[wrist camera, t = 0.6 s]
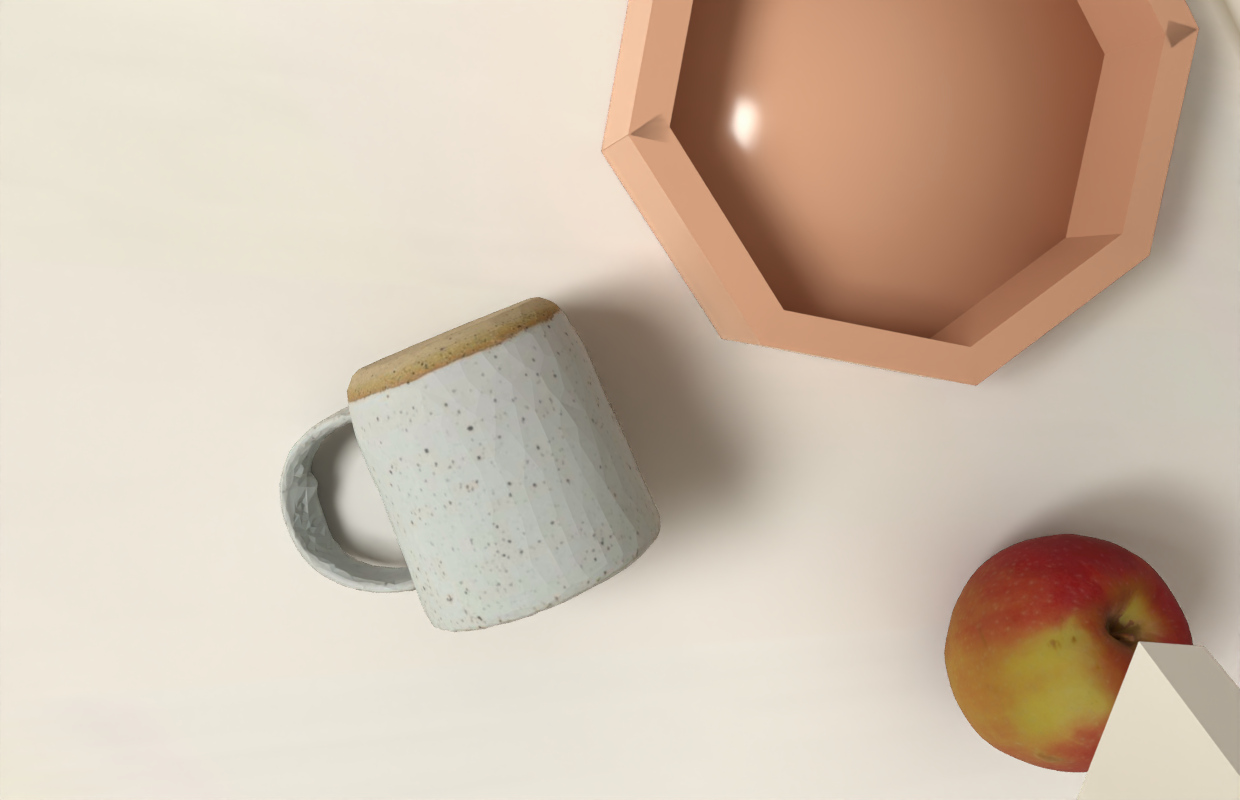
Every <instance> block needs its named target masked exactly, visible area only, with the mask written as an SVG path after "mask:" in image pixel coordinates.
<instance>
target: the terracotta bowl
mask: <svg viewBox="0 0 1240 800" xmlns="http://www.w3.org/2000/svg"><path fill="white" fill-rule="evenodd" d="M1198 31H1199V28H1198V26H1197V24H1196V22H1195V20H1194V18H1193V16H1192V13H1191V11H1190V9H1189V7H1188V5H1187V3H1186V1H1185V0H629V1H628V7H627V12H626V18H625V23H624V29H623V34H622V40H621V46H620V51H619V57H618V62H617V68H616V73H615V79H614V84H613V90H612V95H611V101H610V106H609V112H608V117H607V123H606V128H605V134H604V139H603V145H602V150H601V151H602V153H603V155H604V157H605V158H606V160H607V161H608V163H609V164H610V166H611V167H612V169H613V171H614V172H615V174H616V175H617V177H618V178H619V180H620V181H621V183H622V185H623V186H624V188H625V189H626V191H627V192H628V194H629V195H630V197H631V199H632V200H633V202H634V203H635V205H636V206H637V208H638V209H639V211H640V213H641V214H642V216H643V217H644V219H645V220H646V222H647V223H648V225H649V227H650V228H651V230H652V231H653V233H654V234H655V236H656V237H657V239H658V240H659V242H660V244H661V245H662V247H663V248H664V250H665V251H666V253H667V254H668V256H669V258H670V259H671V261H672V262H673V264H674V265H675V267H676V268H677V270H678V272H679V273H680V275H681V276H682V278H683V279H684V281H685V282H686V284H687V286H688V287H689V289H690V290H691V292H692V293H693V295H694V296H695V298H696V300H697V301H698V303H699V304H700V306H701V307H702V309H703V310H704V312H705V314H706V315H707V317H708V318H709V320H710V321H711V323H712V324H713V326H714V327H715V329H716V331H717V332H718V334H719V335H720V337H721V338H722V339H726V340H731V341H736V342H742V343H747V344H752V345H757V346H763V347H768V348H773V349H779V350H784V351H789V352H795V353H800V354H805V355H811V356H816V357H821V358H827V359H832V360H837V361H843V362H848V363H853V364H858V365H864V366H869V367H874V368H880V369H885V370H890V371H896V372H901V373H906V374H912V375H917V376H923V377H929V378H935V379H941V380H947V381H952V382H958V383H964V384H970V385H978V384H979V383H980V382H982V381H983V380H984V379H986V378H987V377H988V376H990V375H991V374H992V373H994V372H995V371H996V370H998V369H999V368H1000V367H1002V366H1003V365H1004V364H1006V363H1007V362H1008V361H1010V360H1011V359H1012V358H1014V357H1015V356H1016V355H1018V354H1019V353H1020V352H1022V351H1023V350H1024V349H1026V348H1027V347H1028V346H1030V345H1031V344H1032V343H1034V342H1035V341H1036V340H1038V339H1039V338H1040V337H1042V336H1043V335H1044V334H1046V333H1047V332H1048V331H1050V330H1051V329H1052V328H1053V327H1055V326H1056V325H1057V324H1059V323H1060V322H1061V321H1063V320H1064V319H1065V318H1067V317H1068V316H1069V315H1071V314H1072V313H1073V312H1075V311H1076V310H1077V309H1079V308H1080V307H1081V306H1083V305H1084V304H1085V303H1087V302H1088V301H1089V300H1091V299H1092V298H1093V297H1095V296H1096V295H1097V294H1099V293H1100V292H1101V291H1103V290H1104V289H1105V288H1107V287H1108V286H1109V285H1111V284H1112V283H1113V282H1115V281H1116V280H1117V279H1119V278H1120V277H1121V276H1123V275H1124V274H1125V273H1127V272H1128V271H1129V270H1131V269H1132V268H1133V267H1135V266H1136V265H1137V264H1139V263H1140V262H1141V261H1143V260H1144V259H1145V258H1147V257H1148V256H1149V255H1150V250H1151V245H1152V241H1153V236H1154V232H1155V227H1156V223H1157V218H1158V213H1159V209H1160V204H1161V200H1162V195H1163V191H1164V186H1165V181H1166V177H1167V172H1168V168H1169V163H1170V159H1171V154H1172V149H1173V145H1174V140H1175V136H1176V131H1177V127H1178V122H1179V117H1180V113H1181V108H1182V104H1183V99H1184V95H1185V90H1186V85H1187V81H1188V76H1189V72H1190V67H1191V63H1192V58H1193V53H1194V49H1195V44H1196V40H1197V35H1198Z"/></svg>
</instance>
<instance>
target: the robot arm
mask: <svg viewBox="0 0 1240 800" xmlns="http://www.w3.org/2000/svg"><path fill="white" fill-rule="evenodd" d="M1077 800H1240V689H1239V687H1238V686H1237V685H1236V684H1235V683H1234V681H1233V680H1232V679H1231V678H1230V677H1229V675H1228V674H1227V673H1226V672H1225V671H1224V669H1223V668H1222V667H1221V666H1220V665H1219V663H1218V662H1217V661H1216V660H1215V659H1214V657H1213V656H1212V655H1211V654H1210V653H1209V651H1208V650H1207V649H1206V648H1205V647H1204V646H1194V645H1181V644H1167V643H1154V642H1141V641H1139V642H1138V645H1137V647H1136V650H1135V652H1134V655H1133V658H1132V660H1131V663H1130V665H1129V668H1128V670H1127V673H1126V675H1125V678H1124V680H1123V683H1122V686H1121V688H1120V691H1119V693H1118V696H1117V698H1116V701H1115V703H1114V706H1113V708H1112V711H1111V714H1110V716H1109V719H1108V721H1107V724H1106V726H1105V729H1104V731H1103V734H1102V736H1101V739H1100V742H1099V744H1098V747H1097V749H1096V752H1095V754H1094V757H1093V759H1092V762H1091V764H1090V767H1089V770H1088V772H1087V775H1086V777H1085V780H1084V782H1083V785H1082V787H1081V790H1080V792H1079V795H1078V798H1077Z"/></svg>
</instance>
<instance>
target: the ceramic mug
mask: <svg viewBox="0 0 1240 800" xmlns="http://www.w3.org/2000/svg"><path fill="white" fill-rule="evenodd" d="M347 395H348V405H349V406H348V407H346V408H344V409H342V410H340V411H339V412H337V413H335V414H333V415H331V416H330V417H328V418H326V419H324V420H323V421H321V422H320V423H318V424H317V425H315V426H314V427H312V428H311V429H310V430H309V431H308V432H307V433H306V434H305V435H304V436H302V437H301V439H300V440H299V441H298V442H296V443H295V445H294V446H293V447H292V449H291V450H290V452H289V454H288V457H287V459H286V462H285V464H284V467H283V471H282V475H281V480H280V500H281V507H282V513H283V517H284V520H285V523H286V526H287V528H288V531H289V533H290V536H291V538H292V540H293V542H294V544H295V546H296V548H297V549H298V551H299V552H300V554H301V555H302V557H303V558H304V559H305V560H306V561H307V562H308V564H309V565H310V566H312V567H313V568H314V569H315V570H316V571H317V572H319V573H320V574H322V575H323V576H325V577H327V578H328V579H330V580H332V581H334V582H336V583H338V584H341V585H343V586H346V587H350V588H354V589H356V590H362V591H369V592H376V593H392V592H403V591H413V590H417V593H418V596H419V599H420V601H421V604H422V606H423V609H424V611H425V613H426V615H427V617H428V618H429V620H430V621H431V623H432V624H433V626H434V627H436V628H439V629H441V630H447V631H453V632H457V631H472V630H479V629H485V628H488V627H491V626H494V625H499V624H505V623H510V622H513V621H516V620H519V619H522V618H525V617H529V616H532V615H534V614H536V613H538V612H540V611H543V610H546V609H549V608H551V607H554V606H556V605H558V604H561V603H564V602H566V601H567V600H569V599H571V598H573V597H575V596H578V595H579V594H581V593H583V592H585V591H587V590H588V589H590V588H592V587H594V586H596V585H598V584H600V583H602V582H604V581H606V580H608V579H609V578H611V577H612V576H614V575H616V574H617V573H619V572H621V571H622V570H624V569H626V568H627V567H628V566H630V565H631V564H632V563H633V562H635V561H636V560H637V559H638V558H639V557H640V556H641V555H642V554H643V553H644V552H645V551H646V550H647V548H648V547H649V546H650V545H651V544H652V543H653V542H654V540H655V539H656V538H657V536H658V533H659V531H660V516H659V513H658V511H657V509H656V507H655V504H654V502H653V500H652V498H651V496H650V494H649V491H648V489H647V487H646V485H645V483H644V481H643V479H642V476H641V474H640V471H639V469H638V467H637V464H636V462H635V459H634V457H633V455H632V452H631V450H630V448H629V446H628V443H627V441H626V439H625V436H624V434H623V432H622V430H621V428H620V426H619V423H618V421H617V419H616V417H615V415H614V413H613V411H612V408H611V406H610V404H609V402H608V400H607V398H606V396H605V393H604V391H603V389H602V386H601V384H600V381H599V379H598V376H597V374H596V372H595V369H594V367H593V364H592V362H591V360H590V357H589V355H588V353H587V351H586V348H585V346H584V345H583V343H582V341H581V339H580V337H579V336H578V334H577V333H576V331H575V330H574V328H573V327H572V325H571V324H570V322H569V320H568V319H567V317H566V315H565V313H564V312H563V311H562V310H561V309H560V308H559V307H558V306H557V305H556V304H554V303H553V302H551V301H549V300H546V299H543V298H540V297H536V298H530V299H527V300H525V301H522V302H519V303H517V304H514V305H512V306H509V307H507V308H504V309H502V310H499V311H497V312H494V313H492V314H489V315H487V316H484V317H482V318H479V319H477V320H474V321H472V322H469V323H467V324H464V325H462V326H459V327H457V328H454V329H452V330H450V331H447V332H445V333H442V334H440V335H438V336H435V337H433V338H431V339H428V340H426V341H423V342H421V343H418V344H416V345H413V346H411V347H408V348H406V349H404V350H402V351H400V352H397V353H395V354H392V355H390V356H388V357H385V358H383V359H380V360H378V361H376V362H374V363H372V364H370V365H367V366H365V367H363V368H361V369H359V370H358V371H357V372H356V373H355V374H354V375H353V376H352V379H351V381H350V384H349V387H348V390H347ZM347 423H352V424H353V428H354V432H355V435H356V439H357V442H358V444H359V447H360V449H361V452H362V454H363V457H364V459H365V462H366V464H367V467H368V469H369V471H370V473H371V475H372V478H373V480H374V482H375V484H376V486H377V488H378V490H379V492H380V495H381V497H382V500H383V503H384V505H385V508H386V511H387V513H388V516H389V519H390V522H391V524H392V527H393V530H394V532H395V535H396V538H397V540H398V543H399V546H400V549H401V551H402V554H403V556H404V559H405V561H406V564H407V566H408V568H390V567H380V566H372V565H370V564H367V563H364V562H362V561H358V560H357V559H355V558H354V557H352V556H350V555H348V554H347V553H345V552H344V551H343V550H342V549H341V548H340V546H339V544H338V543H337V542H336V541H335V540H333V538H332V535H331V533H330V531H329V528H328V525H327V522H326V519H325V516H324V514H323V511H322V508H321V505H320V502H319V498H318V494H317V488H318V482H317V480H316V478H315V477H314V475H313V474H312V472H311V471H310V470H311V465H312V460H313V457H314V455H315V453H316V452H317V450H318V448H319V446H320V444H321V442H322V440H323V439H324V438H326V437H327V436H328V435H329V434H331V433H332V432H334V431H335V429H336V428H338V427H341V426H343V425H345V424H347Z"/></svg>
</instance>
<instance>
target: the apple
mask: <svg viewBox="0 0 1240 800" xmlns="http://www.w3.org/2000/svg"><path fill="white" fill-rule="evenodd" d="M1139 641H1141V642H1154V643H1167V644H1181V645H1193V643H1192V637H1191V633H1190V630H1189V626H1188V623H1187V620H1186V618H1185V616H1184V614H1183V612H1182V610H1181V608H1180V606H1179V605H1178V603H1177V601H1176V599H1175V597H1174V596H1173V594H1172V593H1171V591H1170V589H1169V588H1168V586H1167V585H1166V584H1165V582H1164V581H1163V579H1162V578H1161V577H1160V576H1159V575H1158V573H1157V572H1156V571H1155V570H1154V569H1153V568H1152V567H1151V566H1150V565H1149V564H1148V563H1147V562H1145V561H1144V560H1143V559H1142V558H1140V557H1138V556H1137V555H1135V554H1133V553H1131V552H1130V551H1128V550H1126V549H1124V548H1122V547H1120V546H1118V545H1116V544H1114V543H1111V542H1108V541H1105V540H1101V539H1097V538H1092V537H1087V536H1080V535H1074V534H1060V535H1052V536H1045V537H1040V538H1035V539H1030V540H1026V541H1023V542H1020V543H1017V544H1015V545H1012V546H1010V547H1008V548H1006V549H1004V550H1002V551H1000V552H999V553H997V554H995V555H994V556H993V557H991V558H990V559H989V560H987V561H986V562H985V563H984V564H983V565H982V566H980V567H979V568H978V569H977V571H976V572H975V573H974V574H973V575H972V576H971V578H970V579H969V581H968V582H967V584H966V585H965V587H964V589H963V591H962V593H961V595H960V596H959V598H958V600H957V602H956V605H955V607H954V609H953V612H952V616H951V620H950V625H949V629H948V634H947V638H946V645H945V653H944V654H945V664H946V669H947V673H948V677H949V681H950V685H951V688H952V691H953V694H954V696H955V699H956V701H957V703H958V705H959V707H960V708H961V710H962V712H963V714H964V715H965V717H966V718H967V720H968V721H969V723H970V724H971V726H972V727H973V728H974V729H975V731H976V732H977V733H978V734H979V735H980V736H981V737H982V738H983V739H984V740H986V741H987V742H988V743H989V744H991V745H992V746H993V747H995V748H997V749H998V750H1000V751H1002V752H1004V753H1006V754H1008V755H1010V756H1012V757H1014V758H1017V759H1019V760H1022V761H1024V762H1027V763H1030V764H1033V765H1036V766H1039V767H1042V768H1047V769H1052V770H1057V771H1064V772H1088V770H1089V767H1090V764H1091V762H1092V759H1093V757H1094V754H1095V752H1096V749H1097V747H1098V744H1099V742H1100V739H1101V736H1102V734H1103V731H1104V729H1105V726H1106V724H1107V721H1108V719H1109V716H1110V714H1111V711H1112V708H1113V706H1114V703H1115V701H1116V698H1117V696H1118V693H1119V691H1120V688H1121V686H1122V683H1123V680H1124V678H1125V675H1126V673H1127V670H1128V668H1129V665H1130V663H1131V660H1132V658H1133V655H1134V652H1135V650H1136V647H1137V645H1138V642H1139Z"/></svg>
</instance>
